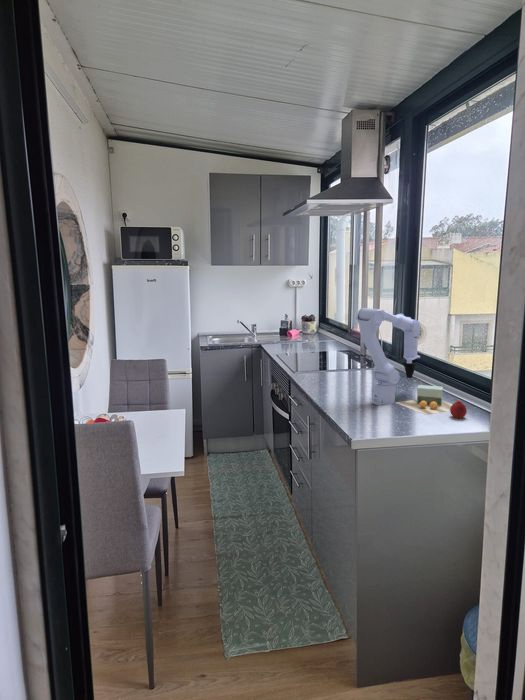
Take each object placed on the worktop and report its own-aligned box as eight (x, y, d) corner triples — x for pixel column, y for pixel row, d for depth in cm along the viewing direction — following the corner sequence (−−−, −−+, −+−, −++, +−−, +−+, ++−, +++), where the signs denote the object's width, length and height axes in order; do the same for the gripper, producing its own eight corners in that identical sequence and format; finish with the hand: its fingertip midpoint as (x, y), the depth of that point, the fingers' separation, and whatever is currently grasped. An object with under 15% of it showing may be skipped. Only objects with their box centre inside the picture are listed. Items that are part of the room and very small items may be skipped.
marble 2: (433, 410, 185) (433, 403, 185) (427, 408, 188) (428, 401, 187) (438, 409, 186) (439, 402, 186) (433, 407, 189) (433, 400, 188)
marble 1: (422, 409, 187) (423, 402, 186) (417, 407, 189) (418, 400, 189) (428, 408, 188) (428, 401, 187) (423, 406, 191) (423, 399, 190)
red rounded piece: (461, 417, 179) (462, 397, 178) (468, 421, 173) (470, 401, 172) (447, 417, 179) (448, 397, 177) (453, 422, 173) (454, 401, 172)
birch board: (426, 417, 179) (426, 414, 179) (394, 404, 197) (394, 402, 197) (464, 410, 187) (464, 408, 187) (431, 399, 204) (431, 397, 204)
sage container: (416, 403, 194) (417, 388, 193) (417, 400, 199) (418, 384, 198) (441, 406, 190) (442, 389, 189) (442, 402, 195) (442, 386, 194)
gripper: (419, 349, 194) (418, 380, 197) (421, 343, 207) (420, 372, 210) (401, 348, 197) (401, 379, 199) (405, 343, 210) (404, 371, 213)
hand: (410, 375), depth 205 cm, fingers open, 7 cm apart
